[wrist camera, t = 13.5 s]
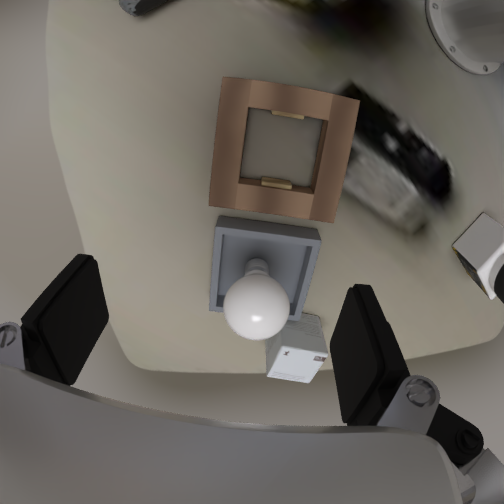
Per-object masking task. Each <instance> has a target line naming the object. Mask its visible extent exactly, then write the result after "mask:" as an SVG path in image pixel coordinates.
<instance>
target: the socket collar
mask: <svg viewBox="0 0 504 504" xmlns="http://www.w3.org/2000/svg"><path fill="white" fill-rule="evenodd" d="M359 103H360V101H359V100H355V99H352V98H348V97H344V96H340V95H335V94H331V93H327V92H322V91H317V90H313V89H308V88H302V87H297V86H291V85H286V84H279V83H273V82H266V81H258V80H250V79H241V78H231V77H223V78H222V86H221V93H220V101H219V109H218V117H217V126H216V134H215V143H214V153H213V162H212V173H211V183H210V194H209V206H214V207H222V208H230V209H238V210H246V211H253V212H261V213H268V214H275V215H282V216H289V217H296V218H302V219H309V220H316V221H322V222H328V223H334V219H335V215H336V211H337V207H338V203H339V199H340V195H341V191H342V186H343V182H344V178H345V173H346V169H347V164H348V159H349V155H350V150H351V145H352V140H353V135H354V130H355V125H356V119H357V114H358V108H359ZM249 107H252V108H260V109H267V110H272V113H271V114H274V115H280V116H286V117H292V118H298V119H304V116H309V117H314V118H319V119H323V124H322V129H321V135H320V140H319V146H318V151H317V156H316V161H315V167H314V172H313V177H312V182H311V187H310V188H308V187H302V186H296V185H291V182H290V181H288V180H281V179H275V178H268V177H262V179H261V180H256V179H248V178H241V177H240V171H241V163H242V156H243V148H244V140H245V133H246V126H247V118H248V111H249Z"/></svg>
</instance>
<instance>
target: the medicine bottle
mask: <svg viewBox="0 0 504 504" xmlns="http://www.w3.org/2000/svg"><path fill="white" fill-rule="evenodd" d="M452 248H453V250H454V251H455V253H456V254H457V256H458V258H459V259H460V261H461V263H462V264H463V266H464V268H465V270H466V271H467V273H468V274H469V276H470V277H471V278H472V279H473V280H474V281H475V282H476V283H477V285H478V286H479V287H480V288H481V289H482V290H483V291H484V293H485V294H486V295H487V296H488V297H489V299H491V300H492V299H494V298H495V297H496V296H498V298H499V299H500V300H501V301H502V302H503V303H504V227H503V226H502V225H501V224H499V223H498V222H497V221H495V220H494V219H492V218H491V217H490V216H488V215H487V214H485V213H482V214H481V215H480V216H479V218H478V219H477V220H476V221H475V222H474V223H473V224H472V225H471V226H470V227H469V228H468V229H467V230H466V232H465V233H464V234H463V235H462V236H461V237H460V238H459V239H458V240H457V241H456V242H455V243H454V244H453V245H452Z"/></svg>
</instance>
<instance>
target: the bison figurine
mask: <svg viewBox="0 0 504 504" xmlns="http://www.w3.org/2000/svg"><path fill="white" fill-rule="evenodd" d="M166 1H168V0H119V3H120V6H121V7H122V9H123V10H124V11H126V12H127V13H129V14H131V15H133V16H139V15H142V14H144V13H146V12H148V11H150V10H152V9H153V8H155V7H157V6H159V5H160V4H162V3H164V2H166Z"/></svg>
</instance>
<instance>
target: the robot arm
mask: <svg viewBox="0 0 504 504" xmlns="http://www.w3.org/2000/svg"><path fill="white" fill-rule="evenodd" d="M426 13H427V18H428V22H429V25H430V28H431V30H432V33H433V35H434V37H435V38H436V40H437V42H438V44H439V45H440V47H441V48H442V49H443V51H444V52H445V53H446V54H447V55H448V57H449V58H450V59H451V60H452V61H453V62H455V63H456V64H457V65H458V66H460V67H461V68H463V69H464V70H466V71H468V72H470V73H474V74H482V75H486V74H491V73H493V72H495V71H496V70H497V69H498V68H499V67H500V65H501V63H502V62H504V0H427V1H426ZM108 319H109V313H108V309H107V305H106V300H105V296H104V292H103V287H102V283H101V278H100V273H99V268H98V263H97V261H96V260H94V258H93V256H92V255H86V254H78V255H76V256H75V258H73V260H72V261H71V262H70V263H69V264H68V265H67V266H66V267H65V268H64V269H63V270H62V271H61V273H59V275H58V276H57V277H56V278H55V279H54V280H53V281H52V282H51V284H50V285H49V286H48V287H47V288H46V289H45V290H44V291H43V293H42V294H41V295H40V296H39V297H38V298H37V300H36V301H35V302H34V303H33V305H32V306H31V307H30V308H29V309H28V310H27V312H26V313H25V314H24V316H23V317H22V318H21V321H22V326H21V327H20V326H19V325H18V324H16V323H14V322H6V323H3V324H0V504H504V465H503V464H502V463H501V462H500V461H499V460H498V458H497V457H496V456H495V455H494V454H493V453H492V452H491V451H490V450H489V448H487V449H486V450H484V449H483V445H484V441H483V436H482V434H481V432H480V431H479V429H478V428H477V427H476V426H474V425H473V424H471V423H470V422H468V421H466V420H465V419H463V418H462V417H460V416H458V415H457V414H455V413H454V412H452V411H450V410H449V409H447V408H445V407H444V406H442V405H441V404H439V400H440V393H439V390H438V388H437V386H436V385H435V384H434V383H433V382H432V381H431V380H430V379H428V378H426V377H424V376H420V375H413V376H410V373H409V371H408V368H407V365H406V363H405V360H404V358H403V355H402V353H401V350H400V348H399V345H398V343H397V340H396V338H395V335H394V333H393V331H392V328H391V326H390V324H389V322H387V321H386V318H385V316H384V314H383V311H382V309H381V307H380V305H379V302H378V300H377V298H376V296H375V293H374V291H373V289H372V287H371V285H364V284H355V285H354V286H353V288H352V287H350V288H349V289H348V291H347V294H346V297H345V300H344V304H343V306H342V309H341V312H340V315H339V318H338V321H337V324H336V327H335V329H334V332H333V335H332V338H331V341H330V353H331V358H332V363H333V369H334V374H335V380H336V386H337V392H338V398H339V404H340V410H341V416H342V421H343V423H347V426H285V425H266V424H252V423H241V422H231V421H222V420H214V419H207V418H200V417H194V416H187V415H181V414H176V413H171V412H165V411H160V410H155V409H150V408H146V407H142V406H137V405H133V404H129V403H125V402H121V401H117V400H114V399H110V398H106V397H102V396H99V395H95V394H92V393H89V392H86V391H83V390H79V389H76V388H74V387H71V386H70V385H73V384H74V383H75V381H76V380H77V378H78V375H79V374H80V372H81V370H82V368H83V366H84V364H85V362H86V360H87V358H88V357H89V355H90V353H91V351H92V349H93V347H94V346H95V344H96V342H97V340H98V338H99V337H100V335H101V333H102V331H103V330H104V328H105V326H106V324H107V322H108Z"/></svg>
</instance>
